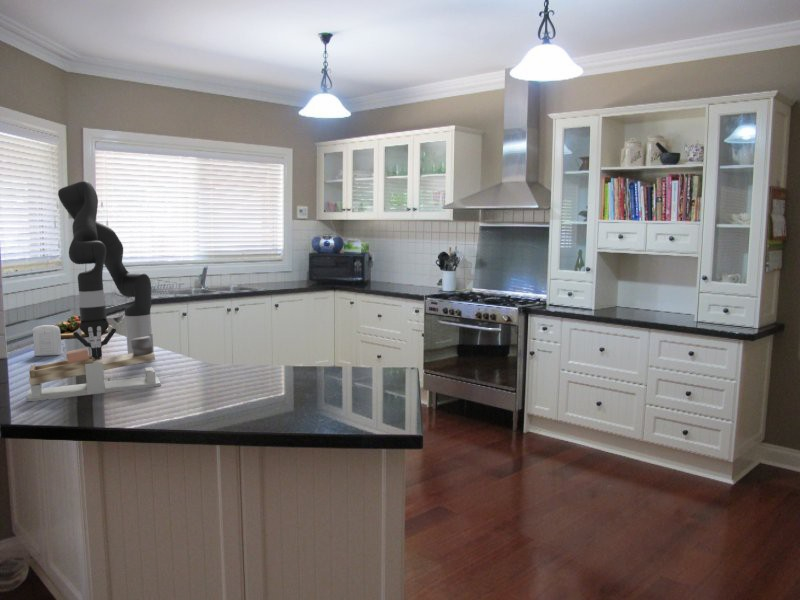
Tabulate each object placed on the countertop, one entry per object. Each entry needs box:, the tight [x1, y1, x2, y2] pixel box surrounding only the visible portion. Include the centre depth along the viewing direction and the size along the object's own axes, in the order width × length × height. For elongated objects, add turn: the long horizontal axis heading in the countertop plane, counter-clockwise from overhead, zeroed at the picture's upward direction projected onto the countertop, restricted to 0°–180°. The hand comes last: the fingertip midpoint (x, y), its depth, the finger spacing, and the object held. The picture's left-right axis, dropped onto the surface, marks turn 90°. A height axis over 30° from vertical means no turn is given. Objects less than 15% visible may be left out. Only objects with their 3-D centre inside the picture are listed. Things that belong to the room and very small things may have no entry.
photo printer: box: [32, 324, 63, 357], centre depth 272 cm, size 10×4×12 cm, turn 98°
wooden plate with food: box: [54, 315, 113, 340], centre depth 327 cm, size 32×32×8 cm
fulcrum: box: [26, 357, 161, 402], centre depth 213 cm, size 38×12×10 cm, turn 115°
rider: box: [65, 347, 90, 364], centre depth 211 cm, size 6×5×5 cm
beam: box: [28, 336, 156, 386], centre depth 213 cm, size 36×9×7 cm, turn 115°
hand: (97, 358), depth 213 cm, fingers closed
